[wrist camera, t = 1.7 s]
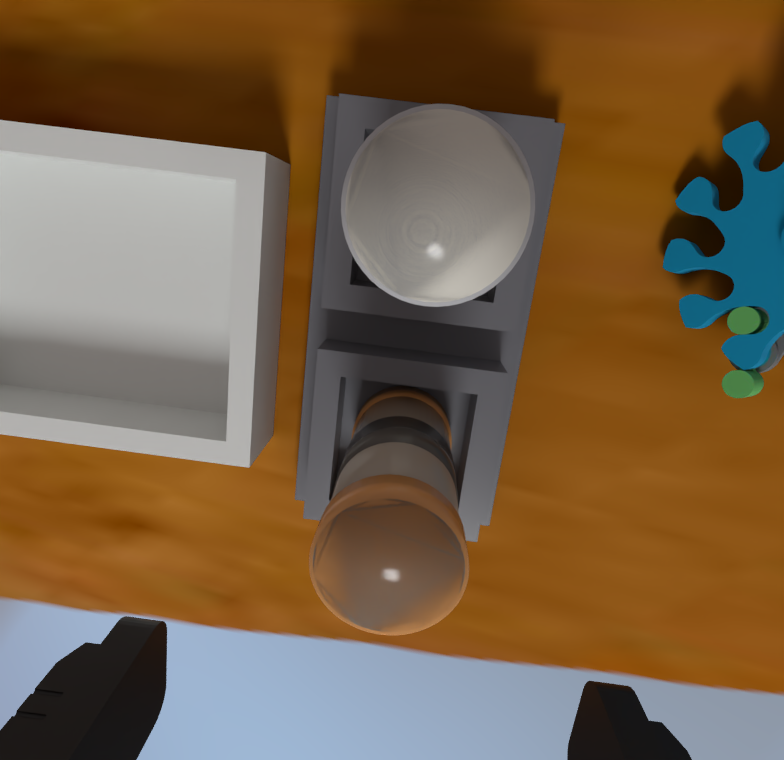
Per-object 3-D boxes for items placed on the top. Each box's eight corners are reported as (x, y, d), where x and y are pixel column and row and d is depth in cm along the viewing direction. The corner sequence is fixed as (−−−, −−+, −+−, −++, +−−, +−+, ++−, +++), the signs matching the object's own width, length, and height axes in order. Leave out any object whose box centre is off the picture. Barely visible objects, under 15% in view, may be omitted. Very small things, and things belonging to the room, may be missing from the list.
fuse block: (331, 102, 22) (316, 80, 18) (557, 129, 21) (580, 112, 18) (300, 487, 26) (284, 521, 23) (486, 512, 26) (494, 550, 23)
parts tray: (290, 164, 22) (266, 152, 19) (273, 435, 25) (249, 467, 22) (-41, 124, 23) (-126, 104, 19) (-17, 396, 26) (-86, 422, 22)
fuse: (492, 170, 21) (552, 116, 11) (475, 279, 22) (516, 317, 12) (383, 156, 21) (350, 91, 11) (372, 266, 22) (332, 294, 12)
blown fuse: (457, 392, 23) (481, 507, 14) (442, 481, 24) (456, 645, 15) (360, 379, 23) (315, 484, 14) (350, 468, 24) (303, 623, 15)
